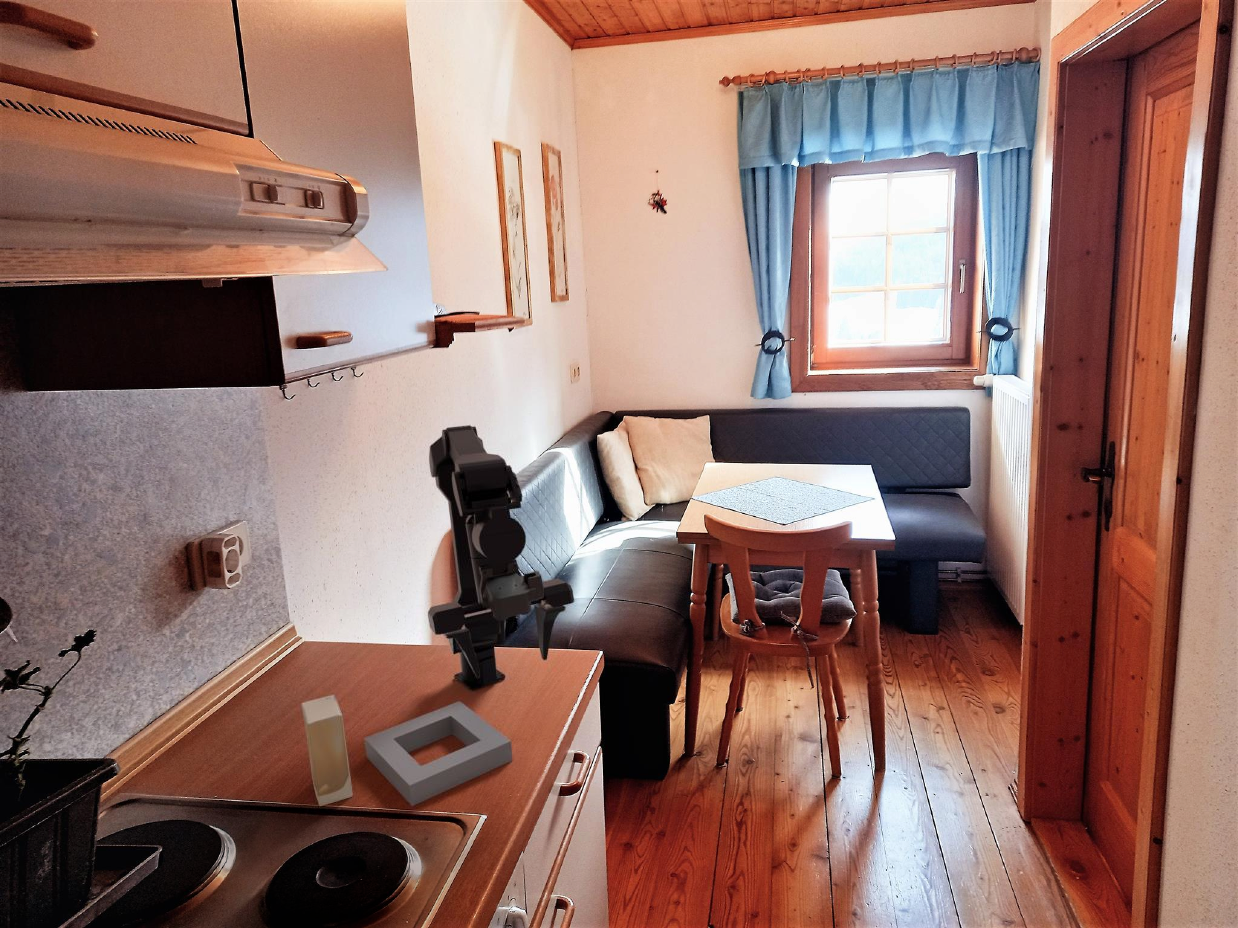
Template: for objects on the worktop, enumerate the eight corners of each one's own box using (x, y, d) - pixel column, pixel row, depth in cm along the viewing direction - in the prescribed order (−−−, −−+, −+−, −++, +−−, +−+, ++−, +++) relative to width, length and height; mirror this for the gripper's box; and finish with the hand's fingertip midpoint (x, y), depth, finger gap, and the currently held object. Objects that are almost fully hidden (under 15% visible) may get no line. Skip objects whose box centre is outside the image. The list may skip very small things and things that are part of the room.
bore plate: (366, 756, 118) (364, 737, 118) (461, 718, 127) (459, 700, 127) (412, 806, 107) (409, 785, 106) (512, 760, 116) (510, 740, 115)
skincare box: (312, 783, 113) (300, 701, 110) (345, 773, 115) (334, 692, 112) (319, 808, 107) (306, 723, 105) (354, 797, 109) (342, 713, 106)
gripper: (430, 576, 100) (452, 702, 101) (577, 545, 106) (596, 664, 107) (418, 565, 110) (438, 680, 111) (552, 538, 117) (570, 646, 118)
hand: (511, 668), depth 112 cm, fingers open, 9 cm apart
